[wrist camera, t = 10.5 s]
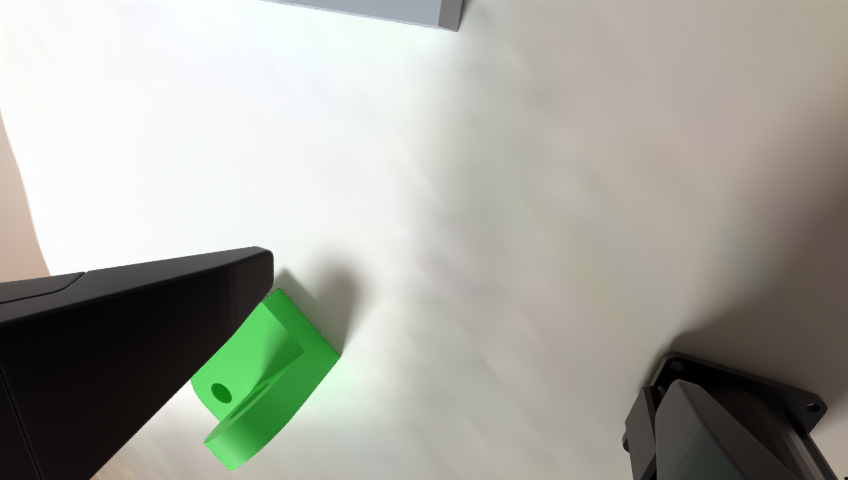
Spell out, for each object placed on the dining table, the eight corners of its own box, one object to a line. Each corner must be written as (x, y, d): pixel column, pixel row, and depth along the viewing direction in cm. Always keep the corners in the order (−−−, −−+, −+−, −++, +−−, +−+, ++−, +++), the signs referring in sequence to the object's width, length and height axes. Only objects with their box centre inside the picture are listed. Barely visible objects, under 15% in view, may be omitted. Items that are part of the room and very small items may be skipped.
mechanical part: (281, 286, 27) (179, 363, 20) (342, 355, 28) (263, 453, 21) (198, 359, 33) (96, 439, 26) (249, 415, 33) (163, 508, 26)
